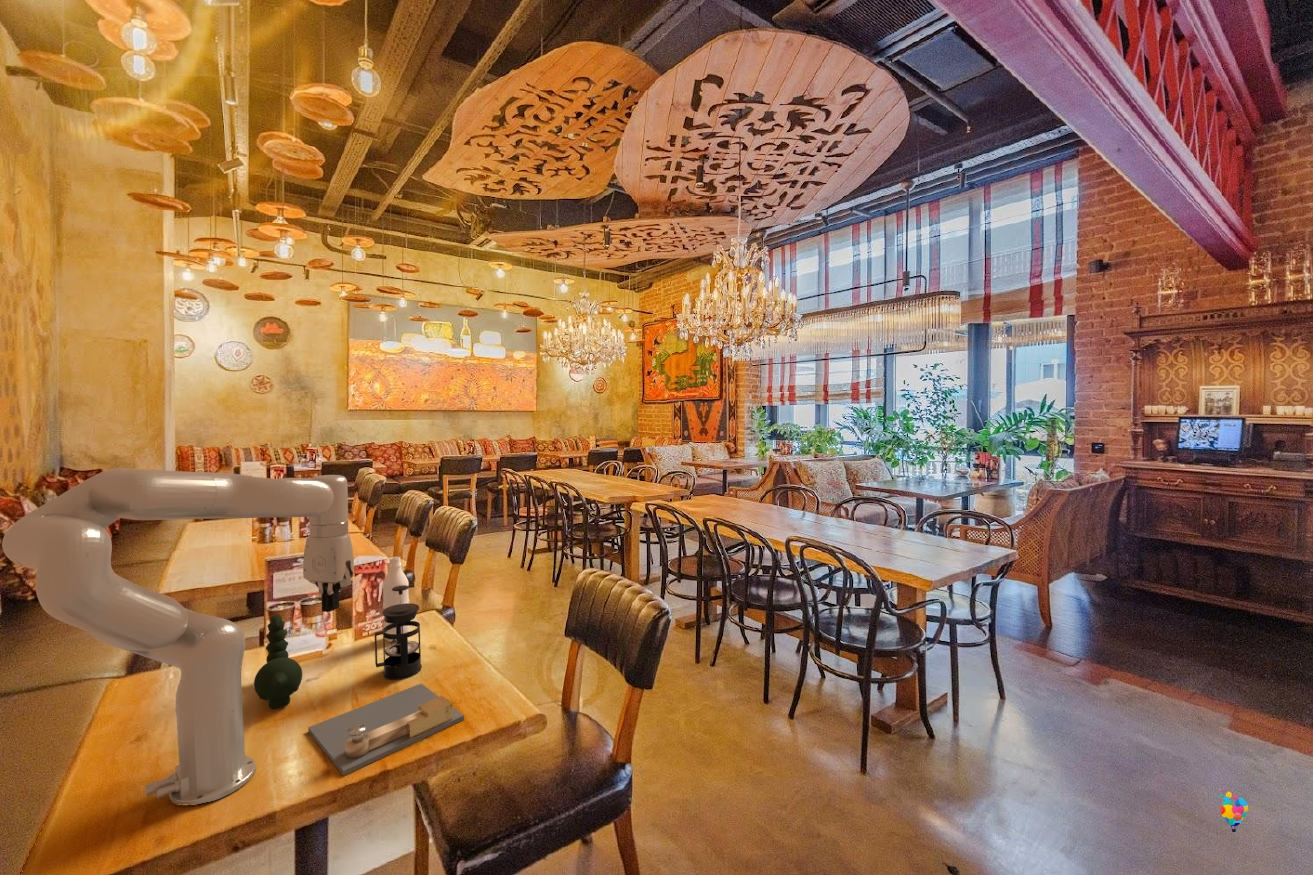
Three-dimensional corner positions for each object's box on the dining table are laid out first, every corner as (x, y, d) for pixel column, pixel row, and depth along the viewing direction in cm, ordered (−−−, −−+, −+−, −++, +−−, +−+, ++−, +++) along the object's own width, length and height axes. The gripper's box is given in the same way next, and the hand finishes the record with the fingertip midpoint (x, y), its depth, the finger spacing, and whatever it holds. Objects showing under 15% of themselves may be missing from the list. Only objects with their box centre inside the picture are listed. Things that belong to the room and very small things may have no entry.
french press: (421, 658, 152) (419, 578, 151) (427, 673, 145) (425, 588, 143) (374, 669, 146) (371, 585, 145) (377, 685, 138) (375, 596, 137)
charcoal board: (343, 775, 105) (343, 770, 105) (308, 731, 119) (308, 727, 119) (464, 719, 124) (463, 715, 123) (421, 687, 137) (421, 683, 137)
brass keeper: (410, 738, 115) (409, 721, 115) (400, 730, 118) (400, 713, 118) (452, 719, 122) (452, 702, 122) (442, 711, 125) (442, 695, 125)
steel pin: (351, 746, 108) (351, 735, 108) (345, 739, 110) (345, 729, 110) (368, 739, 110) (368, 728, 110) (362, 732, 113) (362, 722, 112)
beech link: (349, 761, 107) (349, 750, 107) (342, 751, 110) (341, 740, 110) (439, 722, 121) (439, 712, 120) (430, 714, 124) (430, 704, 123)
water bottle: (399, 645, 161) (397, 562, 159) (378, 642, 162) (376, 560, 161) (415, 634, 168) (413, 555, 166) (394, 632, 169) (392, 553, 168)
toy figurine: (256, 687, 140) (254, 726, 120) (253, 614, 140) (250, 640, 120) (300, 677, 145) (305, 712, 125) (297, 606, 146) (301, 629, 125)
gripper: (287, 531, 121) (289, 612, 122) (342, 535, 117) (344, 619, 118) (316, 524, 128) (317, 601, 129) (369, 528, 125) (370, 607, 126)
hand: (330, 609), depth 124 cm, fingers closed
